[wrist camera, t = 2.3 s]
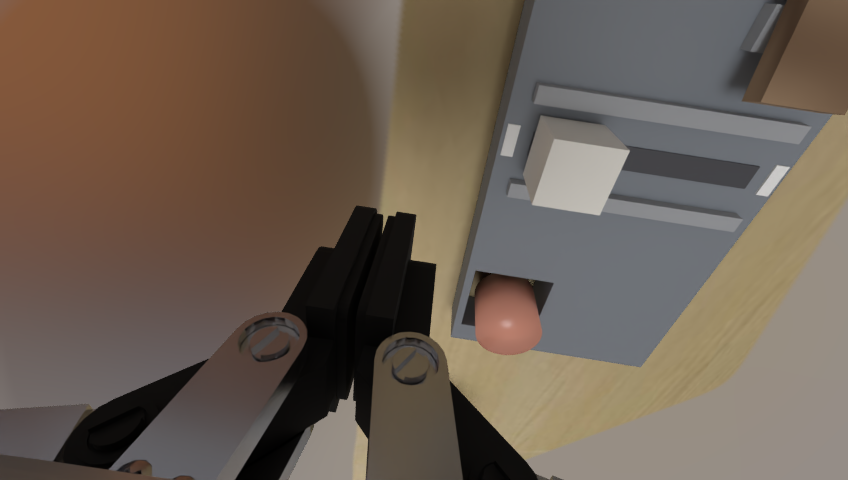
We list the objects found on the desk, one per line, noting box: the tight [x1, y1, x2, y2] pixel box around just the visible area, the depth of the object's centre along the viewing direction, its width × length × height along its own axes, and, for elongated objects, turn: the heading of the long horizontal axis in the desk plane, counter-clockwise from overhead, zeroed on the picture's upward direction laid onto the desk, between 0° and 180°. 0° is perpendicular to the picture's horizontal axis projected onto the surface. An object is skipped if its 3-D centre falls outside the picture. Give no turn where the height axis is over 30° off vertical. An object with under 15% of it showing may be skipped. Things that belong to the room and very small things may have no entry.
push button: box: [475, 273, 542, 355], centre depth 24 cm, size 4×4×4 cm
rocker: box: [742, 0, 848, 115], centre depth 13 cm, size 5×3×1 cm, turn 173°
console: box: [451, 0, 833, 367], centre depth 21 cm, size 24×14×4 cm, turn 173°
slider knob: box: [523, 115, 630, 216], centre depth 17 cm, size 3×3×3 cm
